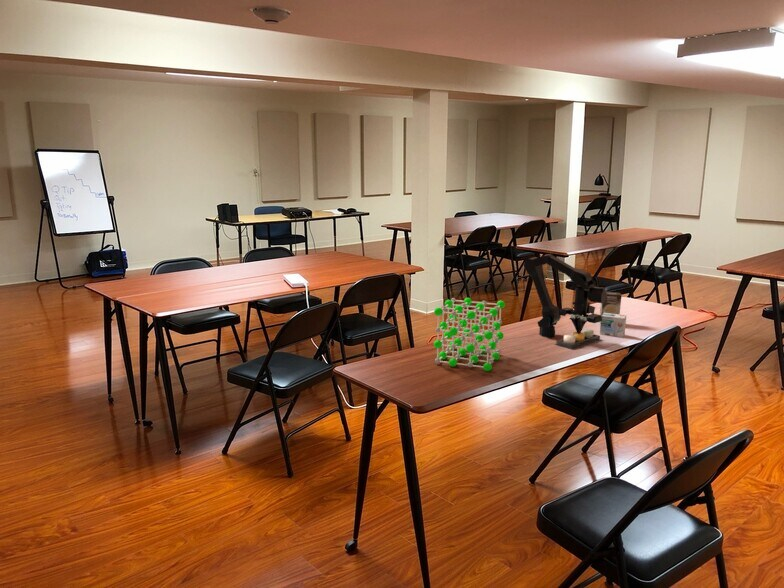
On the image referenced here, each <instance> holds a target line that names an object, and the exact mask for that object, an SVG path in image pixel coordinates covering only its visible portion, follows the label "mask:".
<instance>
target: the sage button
mask: <svg viewBox="0 0 784 588" xmlns="http://www.w3.org/2000/svg"><path fill="white" fill-rule="evenodd" d="M581 332H582V333H585V337H586V338H591V337H593V334H595V331H594V330H593V329H588V328H587V329H586V328H585V329H584V328H583V329H582V331H581Z"/></svg>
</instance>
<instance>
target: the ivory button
mask: <svg viewBox="0 0 784 588" xmlns="http://www.w3.org/2000/svg"><path fill="white" fill-rule="evenodd" d="M575 338H576V337H575V336H574V335H573V334H565V335H563V339H564V342H565V343H569V344H573V343H575Z"/></svg>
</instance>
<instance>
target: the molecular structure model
mask: <svg viewBox="0 0 784 588" xmlns="http://www.w3.org/2000/svg"><path fill="white" fill-rule="evenodd" d="M455 302H460V303H461V302H462V303H461V304H455ZM472 304H476V305H472ZM486 305H491V306H492V305H493V306H494V305H495V306H494V307H490V306H489V307H487V306H486ZM505 306H506V304H505V301H503V300H498V301H497V303H494V302H488V301H486V300H482V301H473V300H472V298H470V297H465V298H464V300H461V299H460V300H459V299H456V298H455V297H452V298H451V299H447V300H445V302H444V305H441V306H440V307H435V309H434V311H433V312H434V315H435V316H437V319H436V320H437V321H436V322H437V324H436V325H437V327H436V328H435V332H436V333H437V334H436V336H437V337H436V340H435V341H434V342H433V347H434V348H436V358H435V359H434V362H435V363H436V364H439V363H444V364H445V363H446V364H449V366H450V367H451V368H452V367H456V366H457V365H458V366H459V365H460V366H467V367H468V368H472V367H475V368H481V369H482V368H483V370H484V371H485V372H490V371H491V370H492V368H493V365H492V364H493V363H494V361H498V360H499V359H500V354H501V353H502V351H501V349H500V347H501V340H503V339H504V335H505V334H504V332H502V331H501V325H502V324H503V321H502V309H504V308H505ZM465 308H466V309H465ZM469 308H474V309H469ZM446 310H447V311H446ZM450 310H452V311H451V312H450ZM485 310H489V311H485ZM498 311H499V313H498ZM465 312H466V313H465ZM445 314H447V318H446V320H445ZM485 314H486V315H485ZM498 314H499V318H498ZM441 315H442V321H441V322H440V316H441ZM460 316H462V317H460ZM477 317H478V318H477ZM494 318H495V319H494ZM469 321H470V322H469ZM473 321H474V322H473ZM450 323H452V325H450ZM455 324H456V326H455ZM469 325H470V327H469ZM481 327H482V328H481ZM485 327H487V329H485ZM490 327H491V328H490ZM440 332H441V333H442V335H441V336H442V337H441V338H440ZM460 334H461V335H460ZM464 340H465V341H464ZM468 340H469V341H468ZM472 341H473V342H472ZM486 341H487V343H485V342H486ZM445 342H446V344H444V343H445ZM481 342H482V343H481ZM497 344H498V345H497ZM445 347H446V348H445ZM476 347H477V348H476ZM444 348H445V350H444ZM439 349H441V351H440V352H439ZM455 349H456V350H455ZM449 353H452V355H448V354H449ZM485 353H486V354H485ZM489 354H490V355H489ZM466 355H468V356H469V357H467V358H465V356H466ZM479 357H486V360H485V359H484V360H482V359H479ZM446 358H448V359H449V358H450V359H449V360H448V361H447V360H446V361H445V359H446ZM443 360H444V361H443ZM458 360H465V361H466V360H467V361H468V363H461V362H460V363H459V362H458ZM478 362H483V363H484V364H483V365H476V364H477V363H478ZM474 363H475V364H474Z"/></svg>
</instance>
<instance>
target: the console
mask: <svg viewBox="0 0 784 588" xmlns="http://www.w3.org/2000/svg"><path fill="white" fill-rule="evenodd" d="M601 341H602V339H601V335H600V334H595V333H594V334H593V337H591V338H586V337H585V338H584V340H582V341H578V340H575V343H573V344H569V343H565V342H564V338H562V339H558V340H556V343H554V344H553V345H554V346H557V347H561V348H565V349H569V350H572V351H574V350H577V349H579V348H583V347H586V346H589V345H592V344H595V343H598V342H601Z"/></svg>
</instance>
